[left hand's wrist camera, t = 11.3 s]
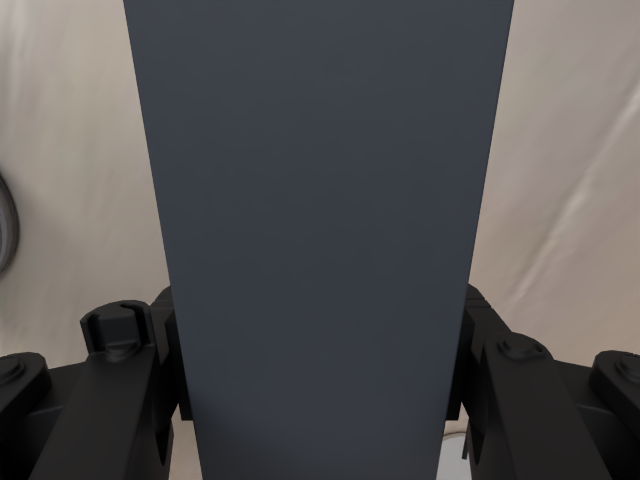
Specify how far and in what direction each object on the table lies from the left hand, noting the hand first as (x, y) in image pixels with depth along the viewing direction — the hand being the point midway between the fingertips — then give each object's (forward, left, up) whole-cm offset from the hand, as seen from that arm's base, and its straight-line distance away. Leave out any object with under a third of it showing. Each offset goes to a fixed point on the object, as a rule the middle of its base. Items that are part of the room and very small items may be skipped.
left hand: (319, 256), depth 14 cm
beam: (+17, +12, -1) cm, 20 cm away
